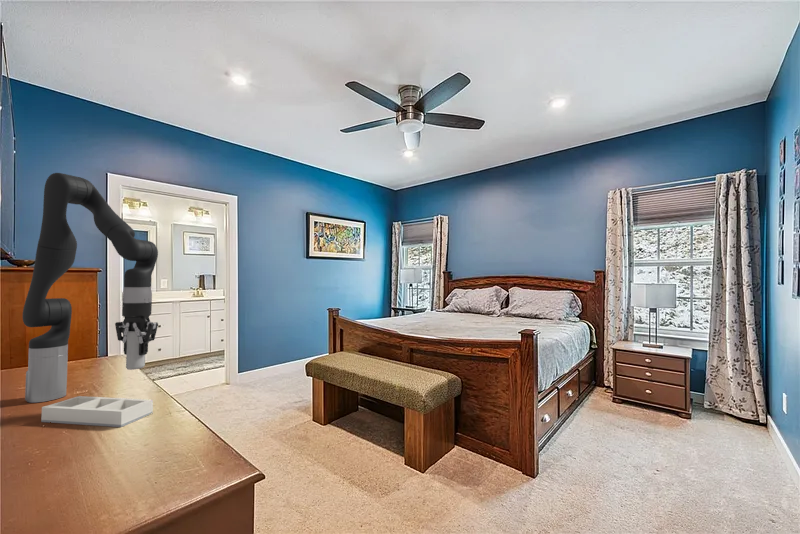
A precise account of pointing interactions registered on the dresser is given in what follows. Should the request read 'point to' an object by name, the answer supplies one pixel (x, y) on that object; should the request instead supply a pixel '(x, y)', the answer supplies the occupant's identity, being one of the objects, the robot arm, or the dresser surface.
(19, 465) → the dresser surface
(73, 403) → the can caddy
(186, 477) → the dresser surface
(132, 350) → the beverage can
